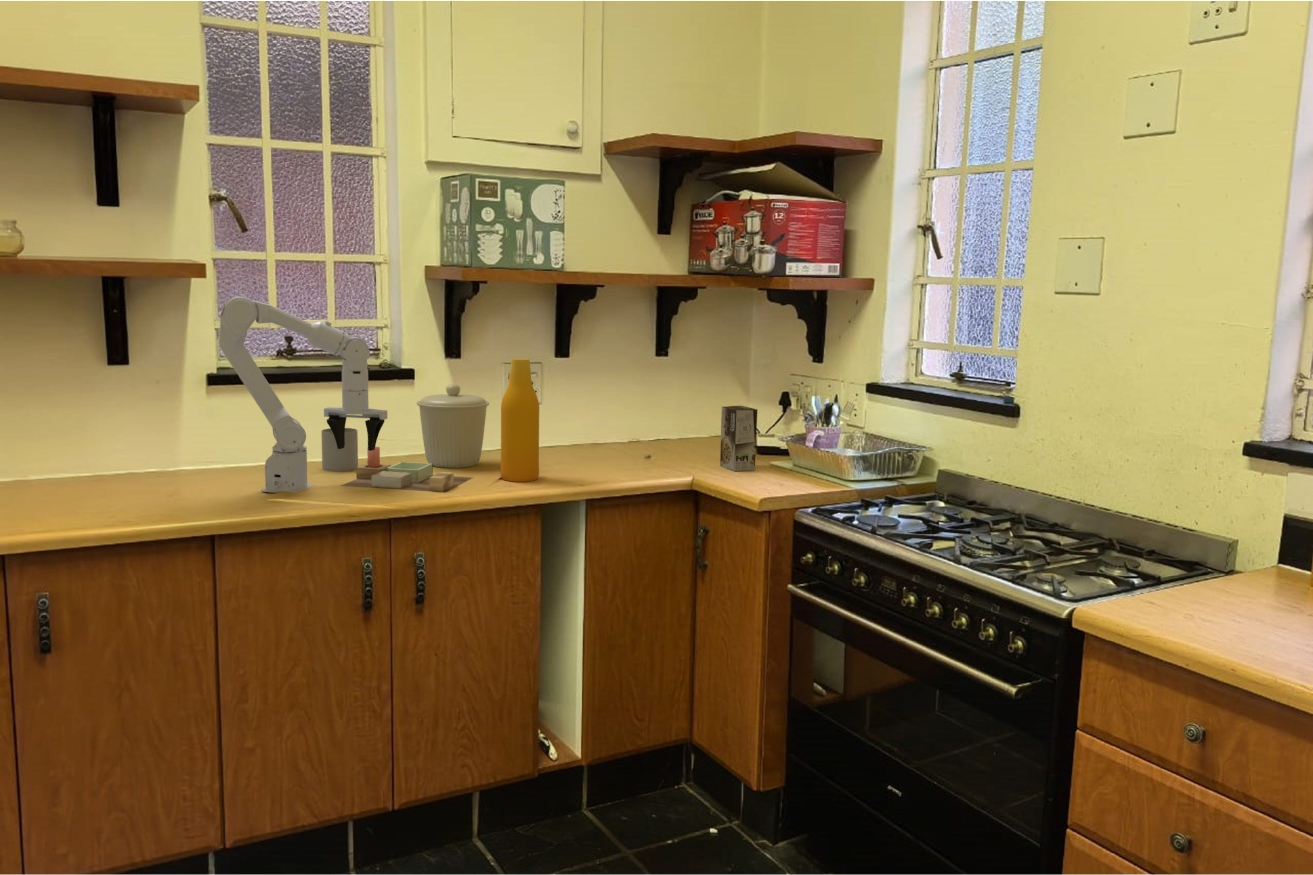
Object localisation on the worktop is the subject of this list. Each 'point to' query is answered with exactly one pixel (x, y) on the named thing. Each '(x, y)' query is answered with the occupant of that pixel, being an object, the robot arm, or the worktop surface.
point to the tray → (413, 470)
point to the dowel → (374, 458)
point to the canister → (453, 428)
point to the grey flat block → (391, 479)
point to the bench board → (433, 483)
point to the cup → (339, 451)
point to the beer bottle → (520, 426)
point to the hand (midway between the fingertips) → (356, 449)
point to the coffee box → (738, 438)
